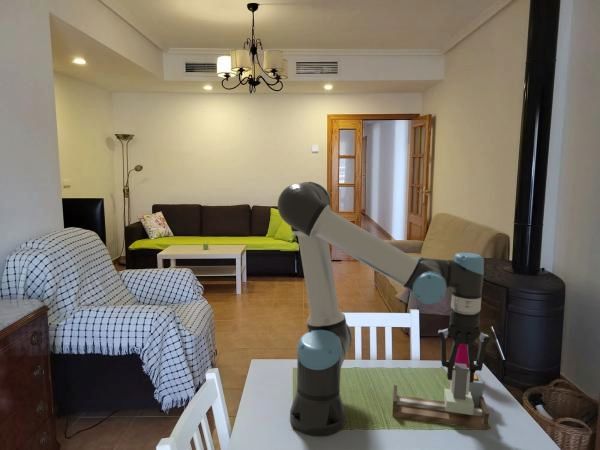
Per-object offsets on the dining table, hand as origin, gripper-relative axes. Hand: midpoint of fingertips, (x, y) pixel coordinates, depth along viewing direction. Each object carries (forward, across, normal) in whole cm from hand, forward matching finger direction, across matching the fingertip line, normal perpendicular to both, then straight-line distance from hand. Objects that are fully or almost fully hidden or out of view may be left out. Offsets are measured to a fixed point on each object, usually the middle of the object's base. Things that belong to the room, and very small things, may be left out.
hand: (459, 391), depth 123 cm
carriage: (+5, 0, 0) cm, 5 cm away
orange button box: (+8, +4, +8) cm, 12 cm away
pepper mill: (+8, +4, +26) cm, 28 cm away
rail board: (+8, -5, 0) cm, 9 cm away
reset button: (+5, +4, +9) cm, 11 cm away
